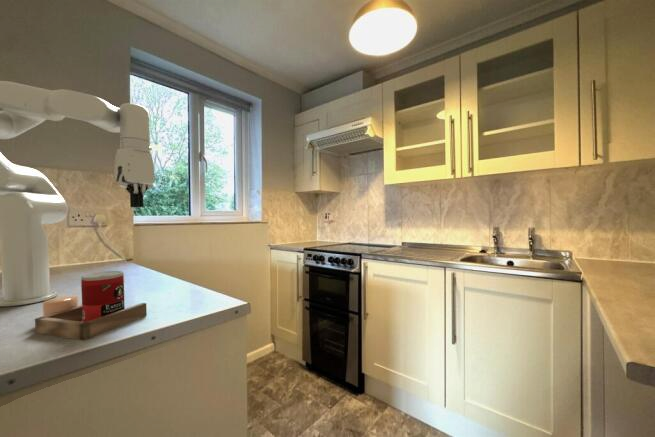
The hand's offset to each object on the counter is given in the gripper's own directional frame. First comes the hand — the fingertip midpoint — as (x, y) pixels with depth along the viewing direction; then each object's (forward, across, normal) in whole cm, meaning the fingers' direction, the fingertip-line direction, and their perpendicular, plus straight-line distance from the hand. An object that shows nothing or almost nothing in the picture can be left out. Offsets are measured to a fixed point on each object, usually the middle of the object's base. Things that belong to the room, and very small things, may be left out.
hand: (136, 206), depth 87 cm
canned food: (+27, +19, +11) cm, 35 cm away
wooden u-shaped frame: (+27, +20, +11) cm, 36 cm away
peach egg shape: (+27, +21, +1) cm, 34 cm away
